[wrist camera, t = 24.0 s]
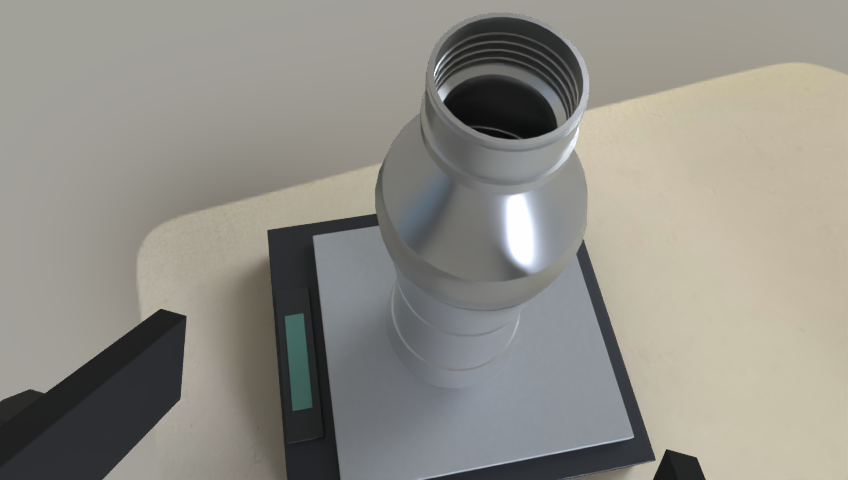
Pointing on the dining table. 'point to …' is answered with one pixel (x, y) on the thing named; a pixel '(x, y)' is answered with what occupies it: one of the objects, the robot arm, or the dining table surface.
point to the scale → (431, 405)
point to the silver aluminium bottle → (482, 194)
